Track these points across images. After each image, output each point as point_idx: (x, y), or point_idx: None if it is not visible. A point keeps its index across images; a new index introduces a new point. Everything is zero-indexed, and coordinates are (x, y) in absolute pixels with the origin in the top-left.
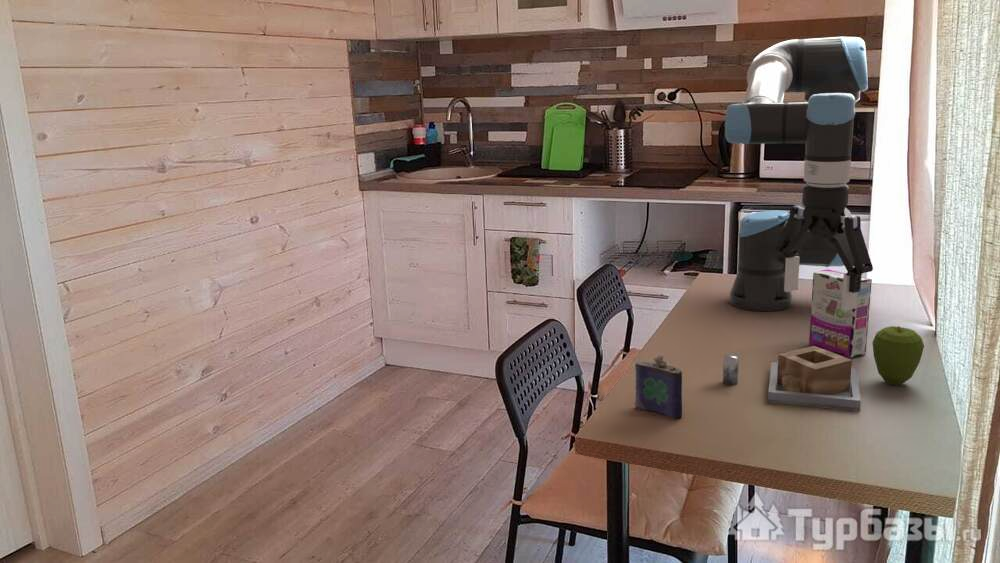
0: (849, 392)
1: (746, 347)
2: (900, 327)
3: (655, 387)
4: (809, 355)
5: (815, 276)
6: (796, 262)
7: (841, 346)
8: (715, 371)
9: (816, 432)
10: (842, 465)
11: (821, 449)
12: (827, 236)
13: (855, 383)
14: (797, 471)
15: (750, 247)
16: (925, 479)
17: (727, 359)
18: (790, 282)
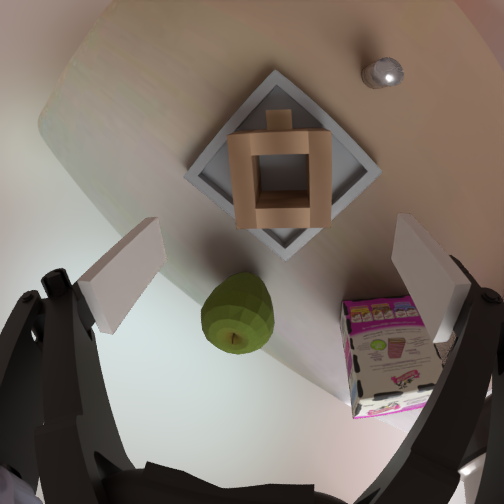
0: None
1: (461, 215)
2: (242, 348)
3: None
4: (309, 192)
5: None
6: (430, 312)
7: (360, 308)
8: (421, 95)
9: (159, 75)
10: (91, 63)
11: (123, 58)
12: (76, 450)
13: None
14: (101, 14)
15: None
16: (53, 126)
17: (382, 58)
18: (407, 241)
